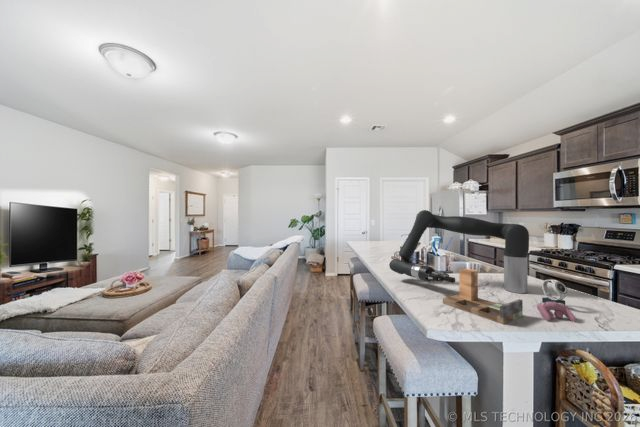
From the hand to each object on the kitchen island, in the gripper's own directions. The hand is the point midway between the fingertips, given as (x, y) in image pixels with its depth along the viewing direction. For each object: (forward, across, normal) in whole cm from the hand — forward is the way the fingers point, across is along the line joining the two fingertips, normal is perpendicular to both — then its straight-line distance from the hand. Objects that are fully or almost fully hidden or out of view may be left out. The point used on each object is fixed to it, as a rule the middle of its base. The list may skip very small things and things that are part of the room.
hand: (454, 280), depth 111 cm
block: (+6, 0, +6) cm, 9 cm away
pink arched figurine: (+31, +11, +8) cm, 34 cm away
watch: (+26, +26, +8) cm, 38 cm away
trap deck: (+13, -4, +8) cm, 16 cm away
